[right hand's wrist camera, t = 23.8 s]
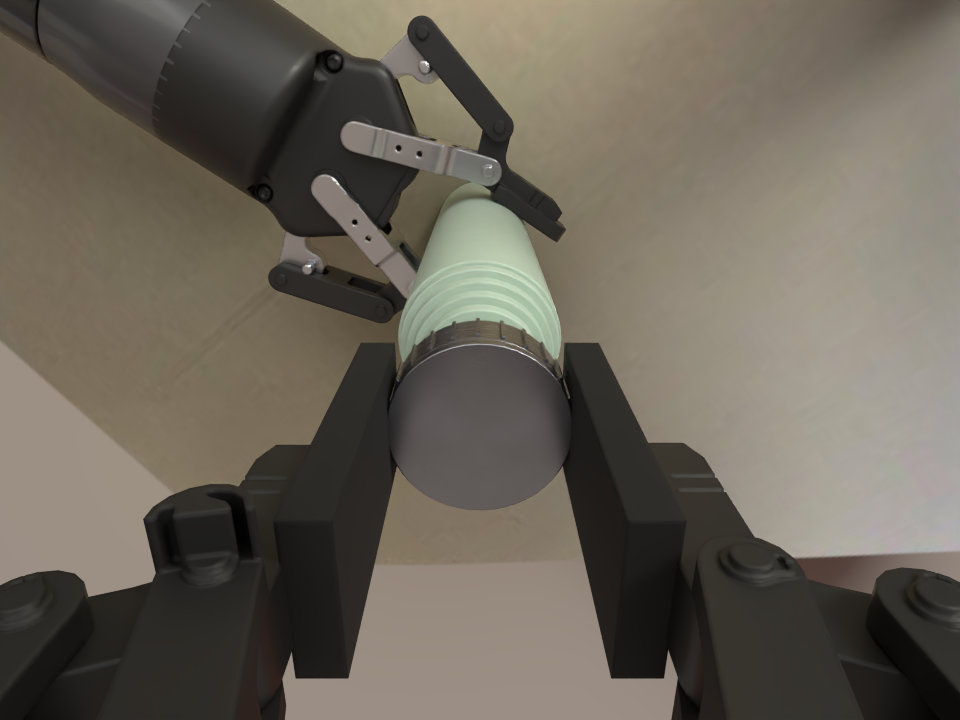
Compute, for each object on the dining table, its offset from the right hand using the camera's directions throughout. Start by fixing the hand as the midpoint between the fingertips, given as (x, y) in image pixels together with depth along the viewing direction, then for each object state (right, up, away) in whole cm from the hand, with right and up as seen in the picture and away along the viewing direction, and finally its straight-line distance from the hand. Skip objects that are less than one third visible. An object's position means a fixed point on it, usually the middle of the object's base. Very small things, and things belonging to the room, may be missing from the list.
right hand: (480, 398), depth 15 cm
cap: (0, -1, -1) cm, 1 cm away
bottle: (0, +9, +21) cm, 23 cm away
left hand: (+2, +5, +16) cm, 17 cm away
